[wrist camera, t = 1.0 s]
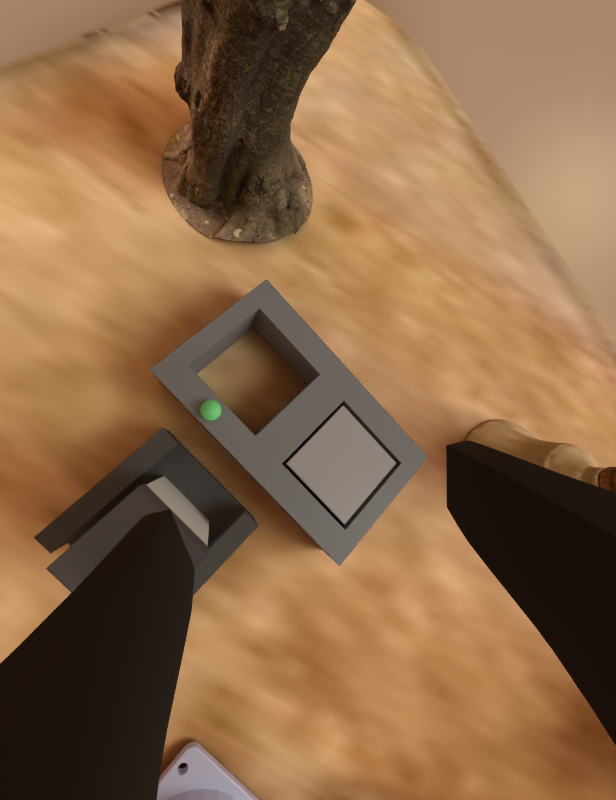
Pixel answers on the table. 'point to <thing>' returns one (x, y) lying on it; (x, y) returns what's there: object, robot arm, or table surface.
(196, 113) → the tree stump
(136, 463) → the dark grey bracket
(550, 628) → the robot arm
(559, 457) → the hand bell
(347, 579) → the table surface
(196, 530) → the plug
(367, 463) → the port panel
